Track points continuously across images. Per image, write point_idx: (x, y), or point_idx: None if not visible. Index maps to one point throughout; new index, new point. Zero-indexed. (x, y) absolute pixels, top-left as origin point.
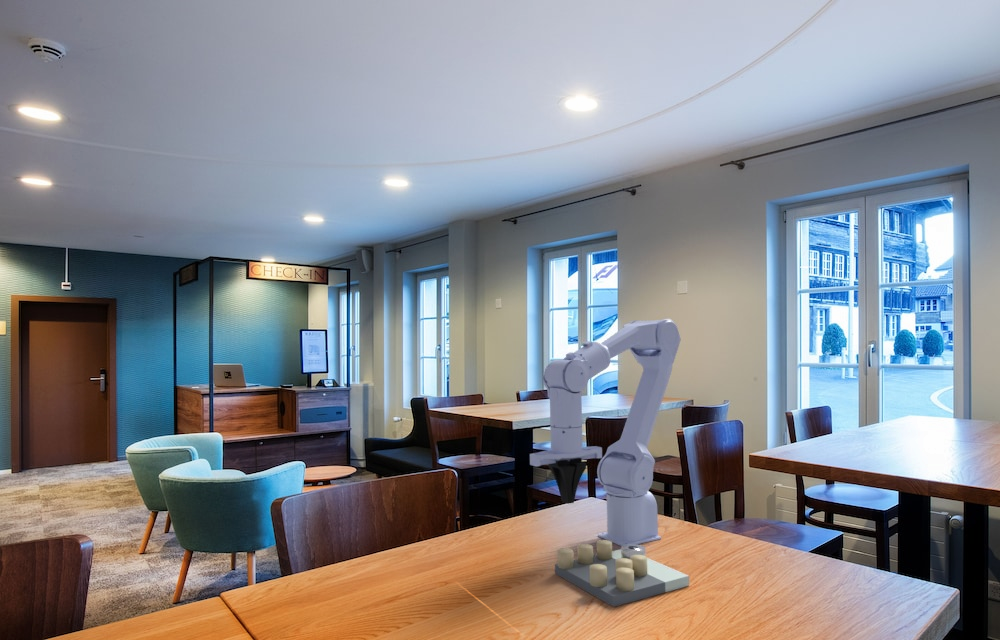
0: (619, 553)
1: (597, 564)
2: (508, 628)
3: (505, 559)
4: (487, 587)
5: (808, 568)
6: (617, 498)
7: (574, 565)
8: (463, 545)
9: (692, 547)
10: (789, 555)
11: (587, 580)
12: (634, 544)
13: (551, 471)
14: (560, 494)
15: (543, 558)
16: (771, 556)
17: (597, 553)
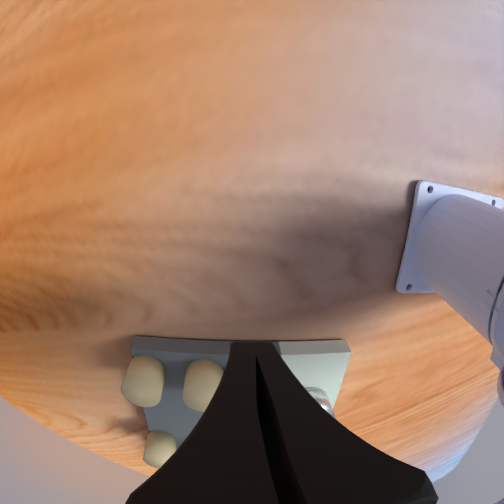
0: (312, 370)
1: (164, 456)
2: (21, 407)
3: (74, 181)
4: (4, 303)
5: (452, 435)
6: (485, 322)
7: (167, 375)
8: (47, 27)
9: (466, 342)
10: (483, 403)
11: (151, 425)
12: (329, 411)
13: (161, 468)
14: (227, 364)
15: (166, 232)
16: (474, 402)
17: None
